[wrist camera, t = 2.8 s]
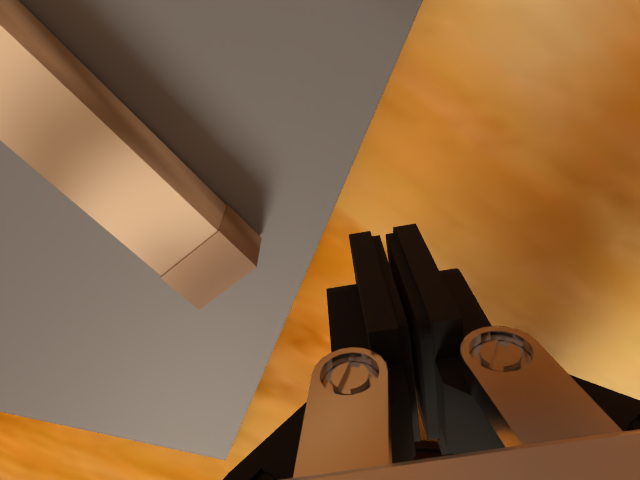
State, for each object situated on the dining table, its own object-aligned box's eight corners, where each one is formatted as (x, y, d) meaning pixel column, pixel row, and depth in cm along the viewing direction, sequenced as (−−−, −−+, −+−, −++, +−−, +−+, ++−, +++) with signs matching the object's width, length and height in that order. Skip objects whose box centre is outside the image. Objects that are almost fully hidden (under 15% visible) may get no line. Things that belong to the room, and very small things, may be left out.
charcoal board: (-285, -322, 13) (-329, -344, 12) (420, -9, 17) (426, -9, 16) (-184, 353, 24) (-202, 368, 23) (228, 445, 28) (225, 460, 27)
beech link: (-254, -106, 14) (-347, -120, 12) (-183, -233, 13) (-274, -271, 11) (198, 286, 21) (187, 318, 19) (273, 228, 20) (269, 257, 18)
